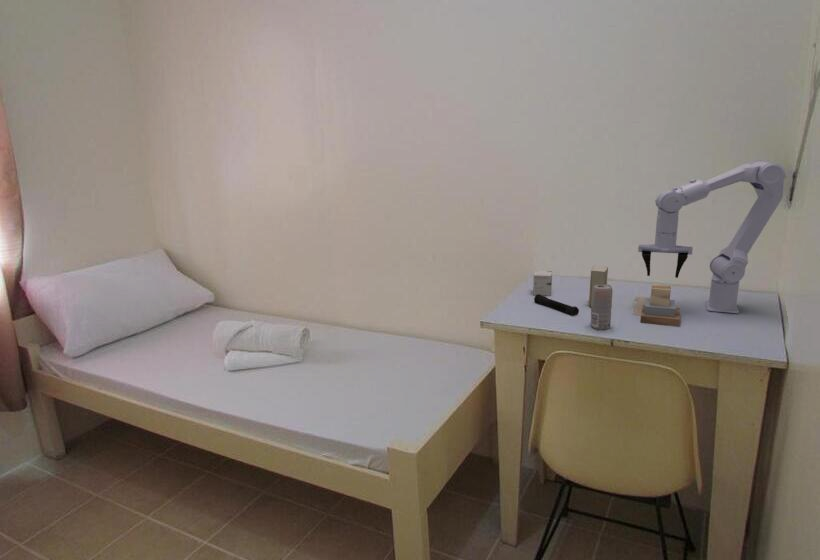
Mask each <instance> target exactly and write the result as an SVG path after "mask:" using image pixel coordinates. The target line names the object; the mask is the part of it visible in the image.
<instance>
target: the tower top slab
mask: <svg viewBox="0 0 820 560" xmlns="http://www.w3.org/2000/svg"><path fill="white" fill-rule="evenodd" d="M650 299H651V297H647V298H645V312H644V315H655V316H667V317H675V314H676V308H677V306H676V300H675V299H670V303H669V307H666V306H655V305H650Z"/></svg>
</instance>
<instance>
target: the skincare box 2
mask: <svg viewBox="0 0 820 560" xmlns="http://www.w3.org/2000/svg"><path fill="white" fill-rule="evenodd" d="M608 273H609V266H605V265H594V266H593V267H592V268H591V270H590V280H589V296H588V299H589V300H588V307H591V306H592V289H593V286H594V285H596V284H607V285H608V276H609V275H608Z"/></svg>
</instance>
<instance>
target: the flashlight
mask: <svg viewBox="0 0 820 560" xmlns="http://www.w3.org/2000/svg"><path fill="white" fill-rule="evenodd" d="M533 301H534V303H535V304H539V305H543V306H547V307H550V308H552V309H555V310H559V311H561V312H564V313H566V314H570V315H571V316H574V317H575V316H577V315H578V314H579V311H580V310H579V308H578V306H571V305H570V304H566V303H563V302H560V301H557V300H554V299H550V298H549V297H547V296H543V295H540V294H537V295H534V298H533Z"/></svg>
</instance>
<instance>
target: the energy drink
mask: <svg viewBox="0 0 820 560" xmlns="http://www.w3.org/2000/svg"><path fill="white" fill-rule="evenodd" d="M612 304H613V286H612V285H610V284H608V283H607V284H596V285H594V286H593V289H592V306H591V308H590V309H591V310H590V312H591V313H590V327H591V328H593V329H595V328H596V329H595V330H602V329H603V330H607V329H609V328H611V324H612V322H611V320H612V309H613V308H612Z"/></svg>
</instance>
